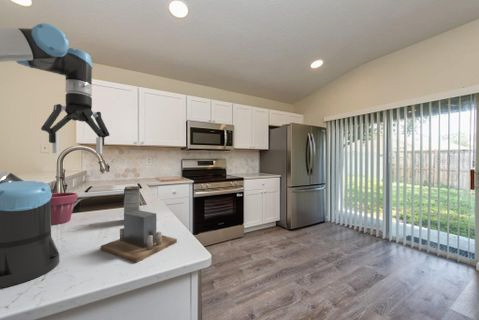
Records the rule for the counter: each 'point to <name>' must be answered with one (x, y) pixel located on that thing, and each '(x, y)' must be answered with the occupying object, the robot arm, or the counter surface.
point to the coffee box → (131, 198)
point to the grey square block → (139, 227)
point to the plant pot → (62, 207)
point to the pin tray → (134, 251)
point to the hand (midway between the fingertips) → (79, 153)
